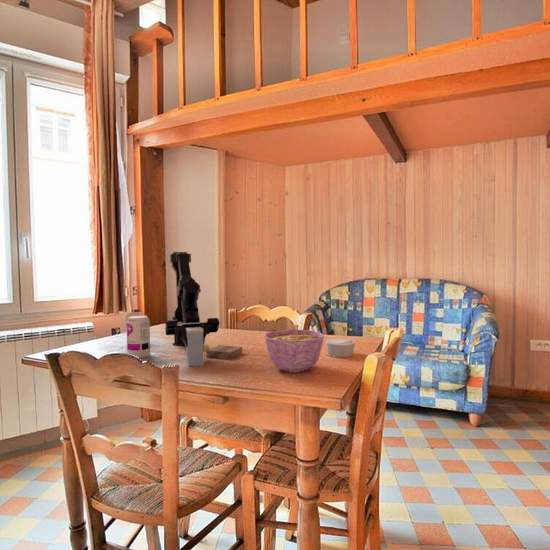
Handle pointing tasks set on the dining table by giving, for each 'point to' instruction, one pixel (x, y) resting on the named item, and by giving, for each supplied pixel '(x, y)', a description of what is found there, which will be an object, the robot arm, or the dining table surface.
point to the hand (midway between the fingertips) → (195, 346)
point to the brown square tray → (224, 352)
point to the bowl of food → (294, 348)
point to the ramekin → (340, 347)
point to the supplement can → (138, 336)
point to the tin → (194, 346)
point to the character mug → (131, 315)
